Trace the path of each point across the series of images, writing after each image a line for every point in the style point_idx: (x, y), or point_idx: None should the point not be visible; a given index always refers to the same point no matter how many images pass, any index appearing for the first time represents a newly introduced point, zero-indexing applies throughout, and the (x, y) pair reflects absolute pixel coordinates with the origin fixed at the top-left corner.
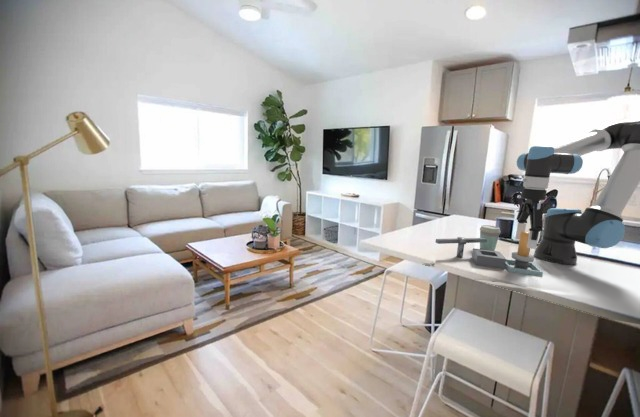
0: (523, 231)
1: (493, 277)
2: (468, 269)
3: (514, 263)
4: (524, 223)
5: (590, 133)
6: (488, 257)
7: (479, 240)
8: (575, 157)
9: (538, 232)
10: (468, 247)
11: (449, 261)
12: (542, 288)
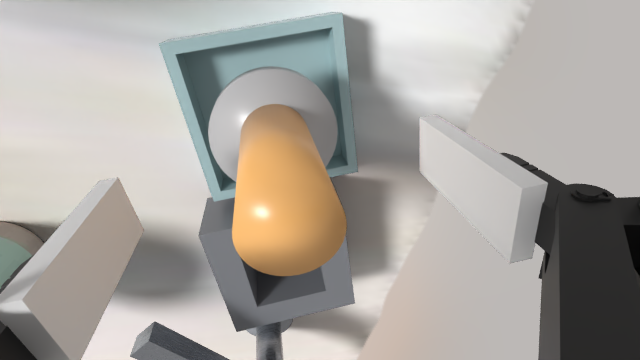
0: (248, 257)
1: (426, 205)
2: (379, 277)
3: (205, 136)
4: (6, 318)
5: None
6: (349, 266)
7: (198, 356)
8: None
9: (538, 181)
10: None
11: (323, 333)
12: (476, 37)
